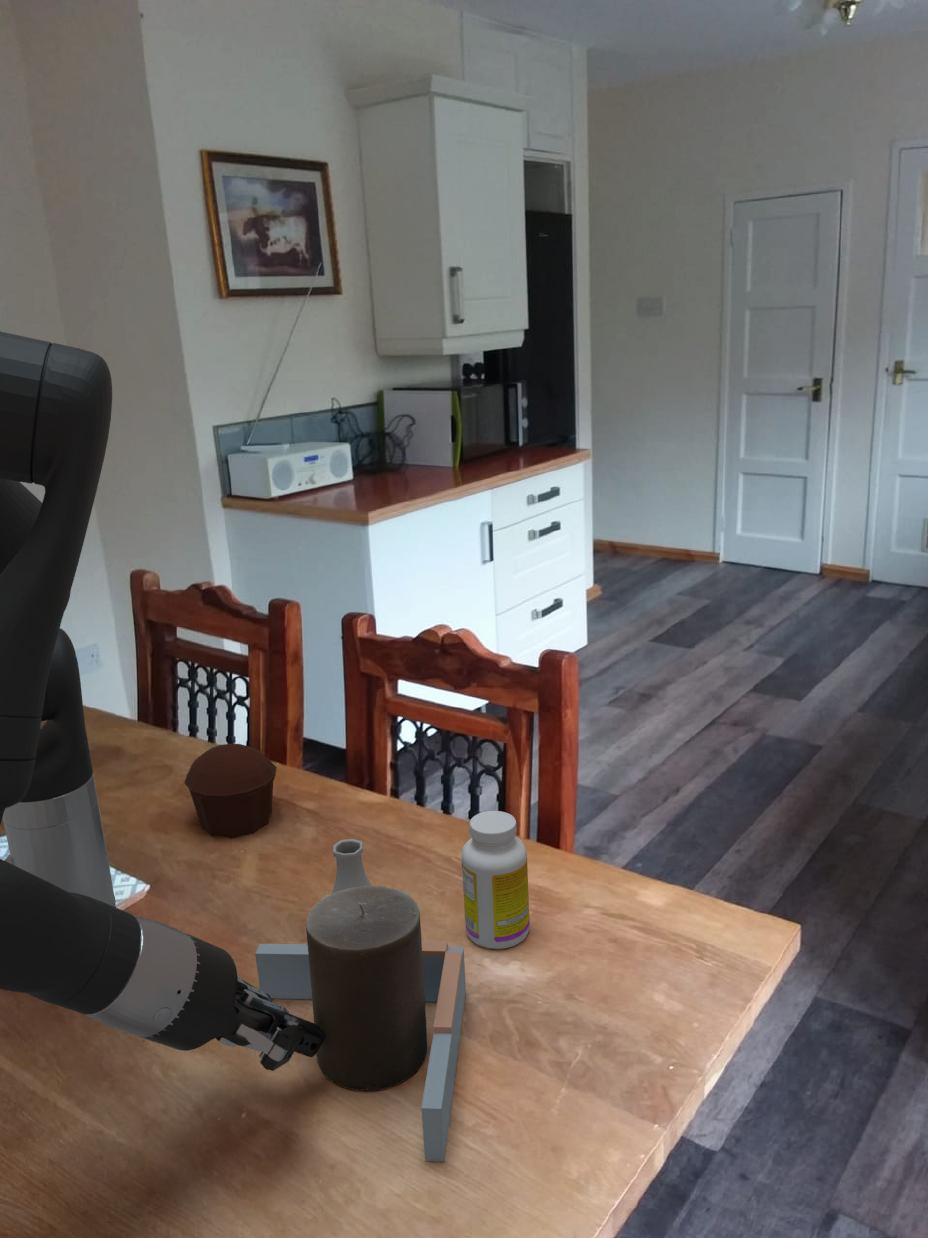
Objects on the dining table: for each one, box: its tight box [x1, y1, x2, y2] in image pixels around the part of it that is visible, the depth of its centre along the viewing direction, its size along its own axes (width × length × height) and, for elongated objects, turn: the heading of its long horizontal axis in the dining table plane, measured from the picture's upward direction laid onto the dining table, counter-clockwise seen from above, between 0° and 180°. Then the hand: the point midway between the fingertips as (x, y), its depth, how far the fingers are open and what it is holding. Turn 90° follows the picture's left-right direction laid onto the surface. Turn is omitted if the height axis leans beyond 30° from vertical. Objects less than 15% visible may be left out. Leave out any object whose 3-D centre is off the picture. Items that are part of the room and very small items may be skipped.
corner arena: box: [254, 940, 467, 1163], centre depth 84 cm, size 20×20×6 cm
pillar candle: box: [305, 885, 428, 1091], centre depth 84 cm, size 10×10×15 cm
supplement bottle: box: [461, 810, 530, 950], centre depth 100 cm, size 7×7×13 cm
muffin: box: [184, 743, 277, 840], centre depth 126 cm, size 12×11×10 cm
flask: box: [331, 838, 372, 894], centre depth 102 cm, size 7×7×10 cm
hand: (315, 1041), depth 82 cm, fingers closed
